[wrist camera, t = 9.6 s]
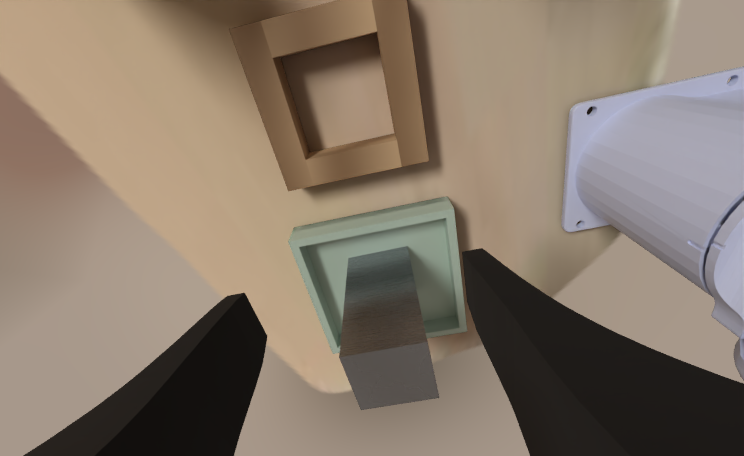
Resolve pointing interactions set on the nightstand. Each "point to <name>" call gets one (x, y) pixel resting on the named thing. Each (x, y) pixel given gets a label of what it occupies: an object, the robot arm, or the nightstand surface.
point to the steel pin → (385, 332)
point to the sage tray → (379, 233)
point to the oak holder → (276, 105)
